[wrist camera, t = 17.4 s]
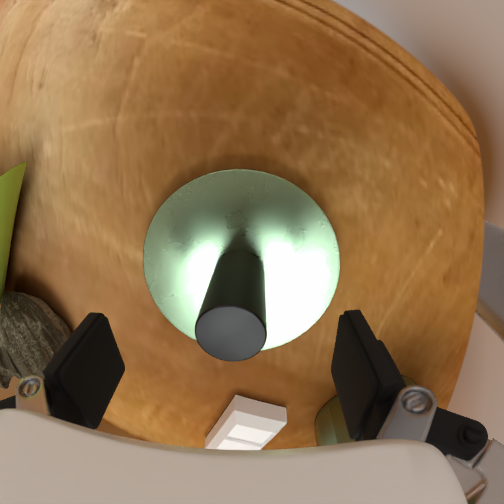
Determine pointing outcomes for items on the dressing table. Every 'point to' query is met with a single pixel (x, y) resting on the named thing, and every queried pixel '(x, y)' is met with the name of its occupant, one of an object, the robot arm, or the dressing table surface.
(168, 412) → the dressing table surface
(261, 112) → the dressing table surface
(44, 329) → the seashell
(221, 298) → the tin lid
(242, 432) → the soap bar
